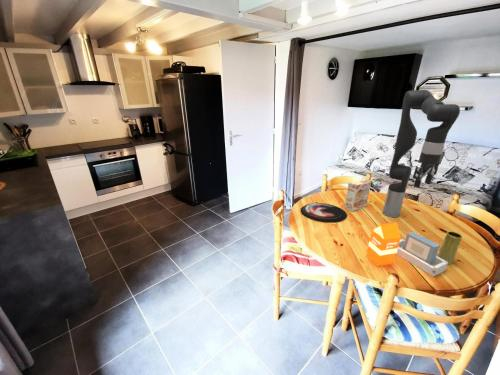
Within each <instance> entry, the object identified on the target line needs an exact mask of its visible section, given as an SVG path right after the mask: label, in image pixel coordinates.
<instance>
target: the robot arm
mask: <svg viewBox="0 0 500 375" xmlns="http://www.w3.org/2000/svg"><path fill="white" fill-rule="evenodd" d="M412 109H421V111H422V113H423V114H424V115H426V119H427V121H429V122H432V123H441V124H440V125H438V126H433V127H430V128H428V129H427V132H426V136H425V137H424V138H425V139H424V141H423V144H422V146H421V147H422V148H421V150H420V155H419V159H418V161H419V162H421V163H420V165H416V166H415V169H414V171H413V174H412V167H411V166H408V165H403V164H399V162H400V161H401V159H402V158H403V157H404V156H405V155H406V154H407V153H409V151H410V150H412V148H414V146H415V144H416V140H417V137H418V131H417V128H416V127H415V125H414V123H413V120H412V118H411V110H412ZM460 112H461V108H460V106H459V105H458V104H455V103H449V104H448V103H447V104H445V103H444V102H443V101H441V100H439V99H437V98H435V96H434V95H433V94H432V93H431V92H430V90H427V89H416V90H415V89H413V90H408V91H406V92H405V93H404V97H403V100H402V111H401V117H400V123H399V128H398V130H397V131H398V132H397V135H396V140H395V146H394V147H395V148H394V152H393V155H392V156H393V157H392V160H391V164H390V167H389V171H388V177H389V178H390V179H393V180H396V181H400V182H394V183H390V184H389V185H388V189H387V192H386V196H385V201H384V206H383V209H382V214H383V215H384V216H386V217H389V218H398V217H399V215H401V210H402V208H403V207H402V206H403V204H404V198H405V194H406V189H407V186H408V183H409V180H410V177H411V174H412V175H413V176H412V179H414V184H413V187H414V188H420V187H421V183H422V180H423V178H425V179H424V183H425V184H427V185H431V183H432V180H433V177H435V176H434V175H437V173H438V169H439V166H440V161H441V158H442V155H443V151H444V149H445V143H446V140H447V136H448V133H449V131H450V130H451V128H452V127H453V125H454V124H455V122H456V121H457V120H458V118H459V116H460Z"/></svg>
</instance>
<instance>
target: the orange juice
mask: <svg viewBox="0 0 500 375" xmlns="http://www.w3.org/2000/svg"><path fill="white" fill-rule="evenodd" d="M401 239H402V237H401V233H400V230H399V226H398V221H396V222H388V223H381V224H379V225H377V226H376V227H374V228H373V229H371V234H370V238H369V240H368V245H367V247H368V248H367V251H366V256H365V257H367V258H368V259H369V260H370V261H371V262H372V263H373V264H375V265H376V267H379V266H386V265H392V264H394V263H395V259H396V255H397V254H396V253H397V249H398V245H399V242H400V240H401Z"/></svg>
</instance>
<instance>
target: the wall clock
mask: <svg viewBox="0 0 500 375" xmlns="http://www.w3.org/2000/svg"><path fill="white" fill-rule="evenodd" d="M300 210H301V211H300V213H301V212H302V213H301V214H302V215H303V216H304V217H305V216H306V218H308V219H309V218H310V220H313V221H315V222H320V223H340V222H343V221H344V220H346V219H347V218H348V214H347V212H346V211H345V210H344V209H343V208H341V207H339V206H337V205H334V204H330V203H324V202H313V203H308V204H305V205H303V206H301V208H300Z"/></svg>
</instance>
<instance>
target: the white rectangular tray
mask: <svg viewBox="0 0 500 375" xmlns="http://www.w3.org/2000/svg"><path fill="white" fill-rule="evenodd" d="M405 239H406V238H400V242H399V245H398V249H397V253H396V255H397V256H399V257H400V258H402V259H404V260H405V261H407V262H408V263H411V264H412V265H413V266H416V267H417V268H419V269H420V270H422V271H424V273H425V272H426V273H427V274H429V275H430V276H432V277H436V276H438V275H439V274H441V273H443V272H445V271H446V270H447V267H448V265H449V264H448V262H447V261H445V260H443V259H441V258H439V257H438V255H436V258H435V261H434V263H433V264H431V265H430V264H428V263H426V262H425V261H423V260H421V259H419V258H418V257H416V256H414V255H412V254H411V253H409V252H407V251H405V250H404V249H403V246H404V242H405Z"/></svg>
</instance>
